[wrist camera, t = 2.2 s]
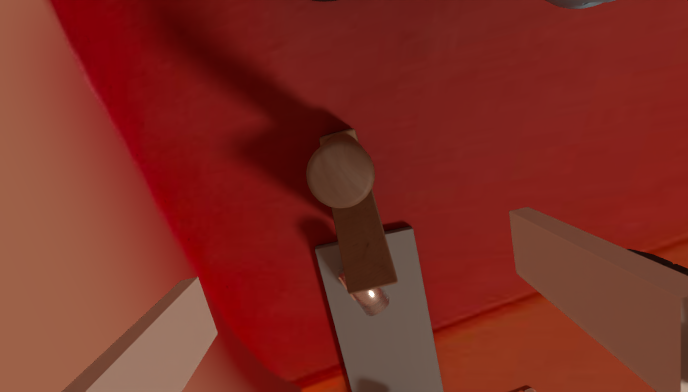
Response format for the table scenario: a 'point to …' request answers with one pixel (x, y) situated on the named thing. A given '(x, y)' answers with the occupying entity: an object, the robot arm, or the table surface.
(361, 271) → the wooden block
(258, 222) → the table surface
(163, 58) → the table surface
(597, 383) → the table surface
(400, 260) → the plate
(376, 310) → the grey block
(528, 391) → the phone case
